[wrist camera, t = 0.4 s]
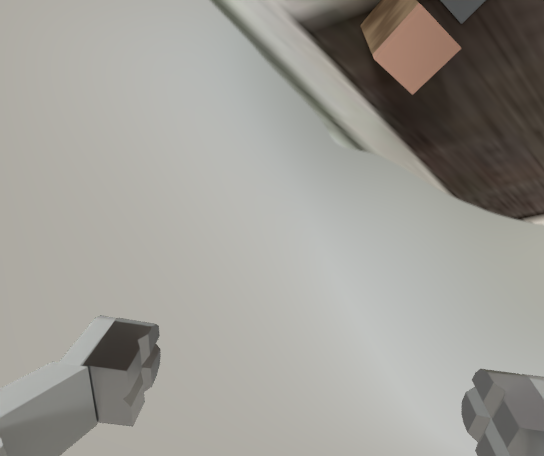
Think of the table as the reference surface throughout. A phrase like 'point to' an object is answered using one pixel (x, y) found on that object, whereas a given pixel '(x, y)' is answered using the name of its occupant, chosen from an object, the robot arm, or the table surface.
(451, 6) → the mat
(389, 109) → the table surface
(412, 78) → the walnut block
